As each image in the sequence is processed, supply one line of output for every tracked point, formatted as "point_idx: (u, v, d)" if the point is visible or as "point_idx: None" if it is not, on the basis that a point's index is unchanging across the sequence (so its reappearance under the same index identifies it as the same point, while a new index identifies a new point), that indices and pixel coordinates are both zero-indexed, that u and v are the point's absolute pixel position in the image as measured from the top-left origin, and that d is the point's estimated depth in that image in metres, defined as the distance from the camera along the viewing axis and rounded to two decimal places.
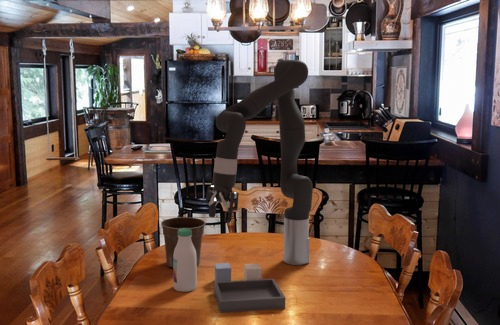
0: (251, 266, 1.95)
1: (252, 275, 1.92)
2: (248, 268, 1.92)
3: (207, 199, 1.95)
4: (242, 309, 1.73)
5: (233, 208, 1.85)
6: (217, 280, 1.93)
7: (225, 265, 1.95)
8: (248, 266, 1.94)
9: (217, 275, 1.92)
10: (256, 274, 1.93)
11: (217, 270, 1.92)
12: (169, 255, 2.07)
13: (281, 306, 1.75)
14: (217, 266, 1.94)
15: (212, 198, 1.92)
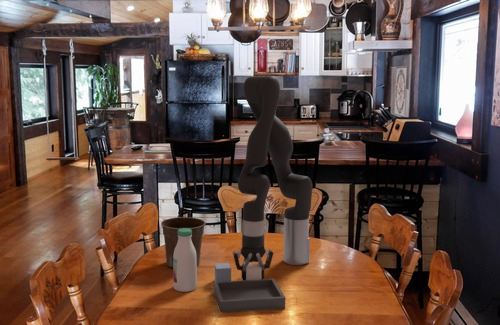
0: (251, 265, 1.95)
1: (252, 275, 1.92)
2: (248, 268, 1.92)
3: (239, 266, 1.92)
4: (242, 309, 1.73)
5: None
6: (217, 280, 1.93)
7: (225, 265, 1.95)
8: (248, 266, 1.94)
9: (217, 275, 1.92)
10: (256, 274, 1.92)
11: (217, 270, 1.92)
12: (169, 255, 2.07)
13: (281, 306, 1.75)
14: (217, 266, 1.94)
15: (247, 262, 1.92)
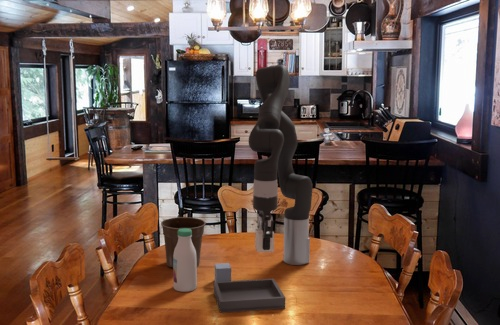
0: None
1: None
2: None
3: None
4: (242, 309, 1.73)
5: None
6: (217, 280, 1.93)
7: (225, 265, 1.95)
8: (266, 232, 1.77)
9: (217, 275, 1.92)
10: None
11: (217, 270, 1.92)
12: (169, 255, 2.07)
13: (281, 306, 1.75)
14: (217, 266, 1.94)
15: None
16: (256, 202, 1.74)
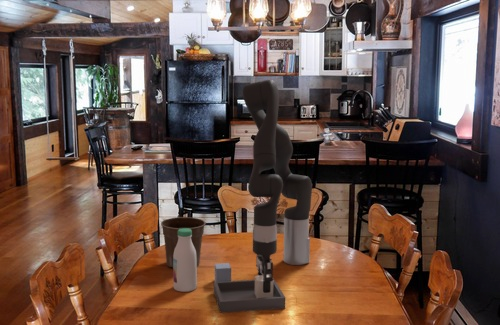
0: None
1: None
2: None
3: None
4: (242, 309, 1.73)
5: None
6: (217, 280, 1.93)
7: (225, 265, 1.95)
8: None
9: (217, 275, 1.92)
10: None
11: (217, 270, 1.92)
12: (169, 255, 2.07)
13: (281, 306, 1.75)
14: (217, 266, 1.94)
15: None
16: (255, 246, 1.77)
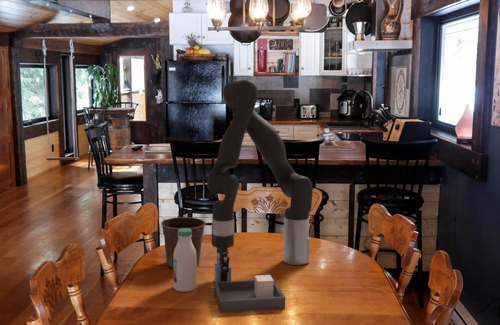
0: (263, 278, 1.80)
1: None
2: (270, 280, 1.79)
3: None
4: (242, 309, 1.73)
5: None
6: (217, 280, 1.93)
7: None
8: (266, 280, 1.79)
9: (217, 275, 1.92)
10: None
11: (217, 270, 1.92)
12: (169, 255, 2.07)
13: (281, 306, 1.75)
14: (217, 266, 1.94)
15: None
16: (214, 240, 1.91)
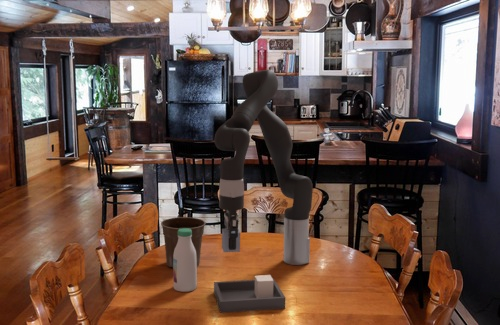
0: (263, 278, 1.80)
1: None
2: (270, 280, 1.79)
3: None
4: (242, 309, 1.73)
5: None
6: (224, 246, 1.75)
7: None
8: (266, 280, 1.79)
9: (225, 240, 1.75)
10: None
11: (225, 235, 1.74)
12: (169, 255, 2.07)
13: (281, 306, 1.75)
14: (225, 231, 1.76)
15: None
16: (221, 201, 1.73)
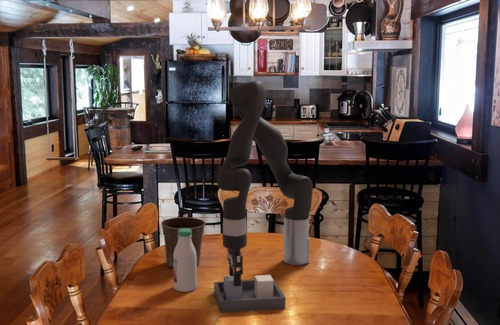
0: (263, 278, 1.80)
1: None
2: (270, 280, 1.79)
3: None
4: (242, 309, 1.73)
5: None
6: (227, 293, 1.77)
7: None
8: (266, 280, 1.79)
9: (227, 288, 1.77)
10: None
11: (227, 282, 1.77)
12: (169, 255, 2.07)
13: (281, 306, 1.75)
14: (226, 278, 1.79)
15: None
16: (225, 240, 1.77)
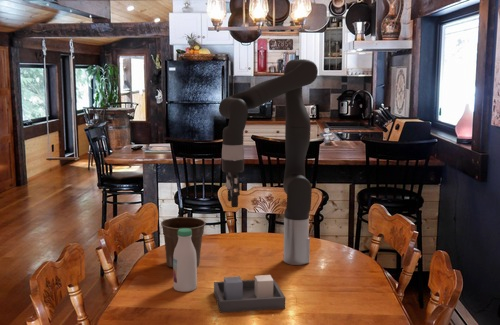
0: (263, 278, 1.80)
1: None
2: (270, 280, 1.79)
3: None
4: (242, 309, 1.73)
5: None
6: (227, 295, 1.77)
7: (236, 279, 1.79)
8: (266, 280, 1.79)
9: (227, 290, 1.77)
10: None
11: (227, 285, 1.76)
12: (169, 255, 2.07)
13: (281, 306, 1.75)
14: (227, 280, 1.78)
15: None
16: (224, 165, 1.92)
